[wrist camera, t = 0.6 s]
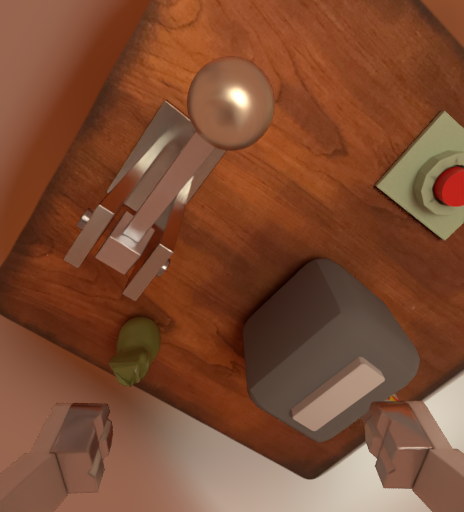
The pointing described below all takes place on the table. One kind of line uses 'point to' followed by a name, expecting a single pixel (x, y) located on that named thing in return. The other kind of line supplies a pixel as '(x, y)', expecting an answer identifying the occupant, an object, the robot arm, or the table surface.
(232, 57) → the lever
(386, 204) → the table surface
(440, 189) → the button
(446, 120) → the button box
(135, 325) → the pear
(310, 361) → the alarm clock
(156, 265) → the bracket
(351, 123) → the table surface
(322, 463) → the table surface
